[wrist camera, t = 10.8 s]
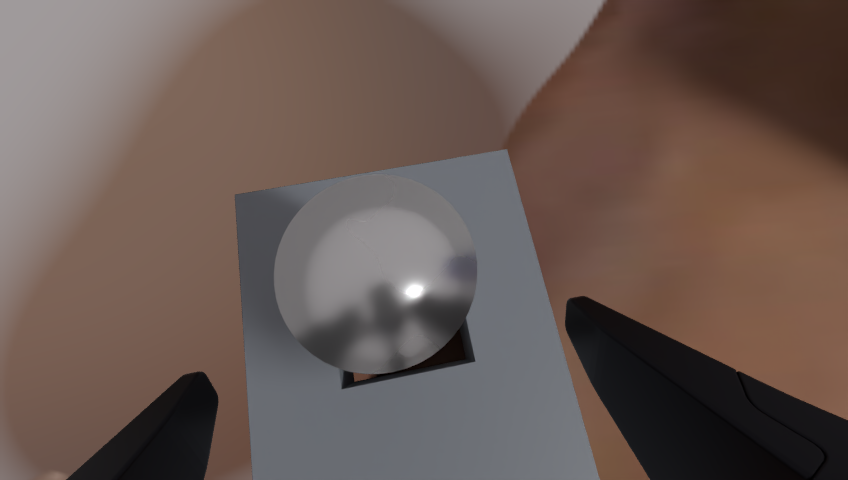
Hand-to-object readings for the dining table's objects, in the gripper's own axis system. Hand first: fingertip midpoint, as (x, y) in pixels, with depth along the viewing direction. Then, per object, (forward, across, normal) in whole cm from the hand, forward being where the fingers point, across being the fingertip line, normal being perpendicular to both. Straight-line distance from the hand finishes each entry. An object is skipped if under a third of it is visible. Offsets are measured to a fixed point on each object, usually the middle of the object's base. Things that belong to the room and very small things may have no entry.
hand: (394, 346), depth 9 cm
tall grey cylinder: (+9, 0, +7) cm, 12 cm away
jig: (+7, 0, +9) cm, 11 cm away
